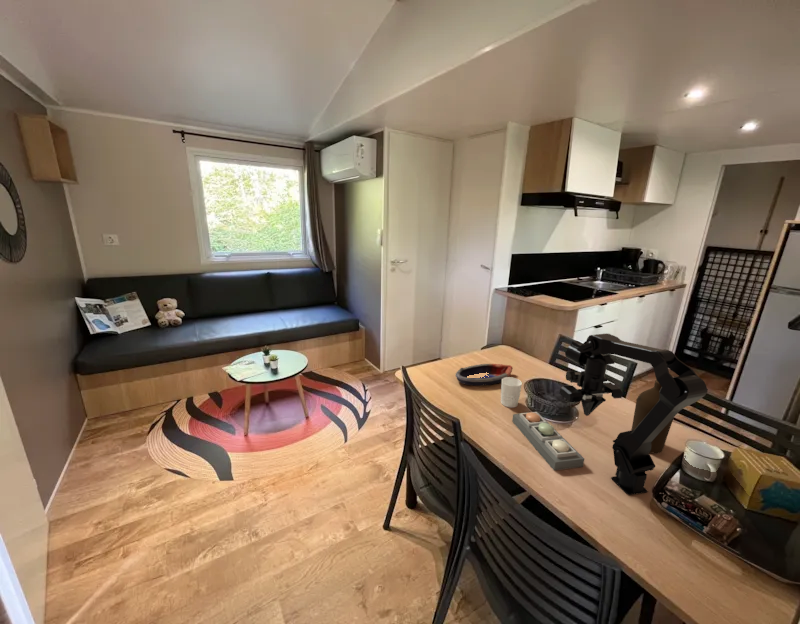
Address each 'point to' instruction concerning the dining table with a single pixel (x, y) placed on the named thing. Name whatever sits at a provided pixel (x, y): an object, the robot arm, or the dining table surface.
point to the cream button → (560, 446)
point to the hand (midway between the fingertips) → (586, 415)
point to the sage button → (546, 429)
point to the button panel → (547, 444)
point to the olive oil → (643, 408)
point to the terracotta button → (532, 417)
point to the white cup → (510, 391)
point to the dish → (494, 370)
